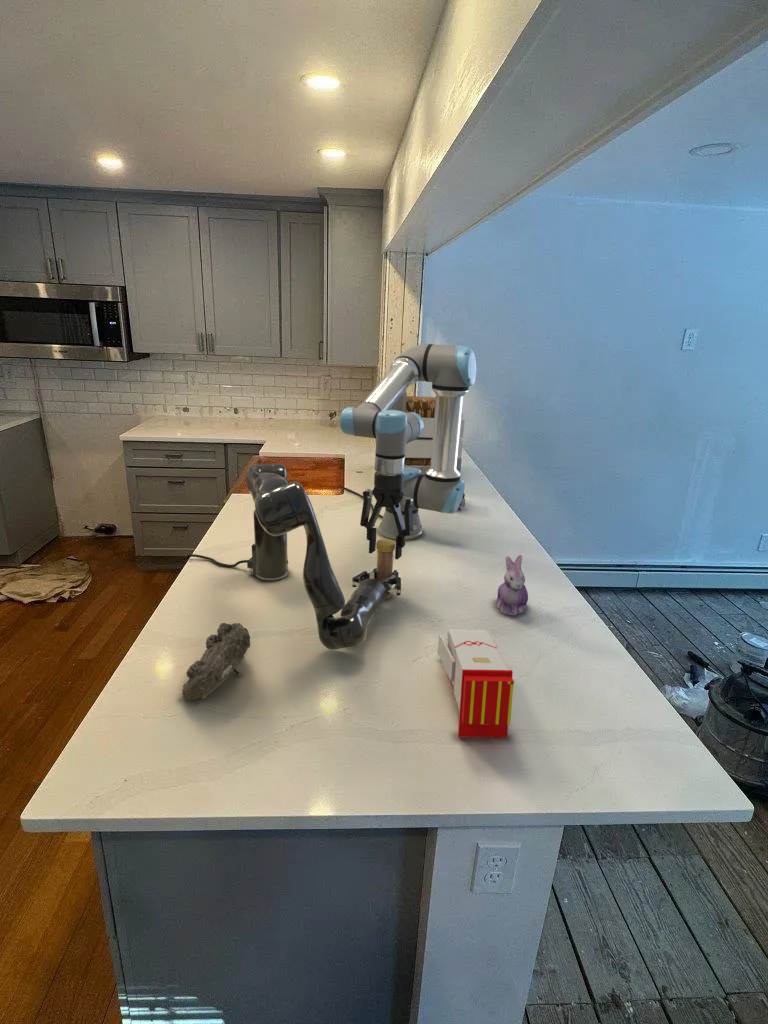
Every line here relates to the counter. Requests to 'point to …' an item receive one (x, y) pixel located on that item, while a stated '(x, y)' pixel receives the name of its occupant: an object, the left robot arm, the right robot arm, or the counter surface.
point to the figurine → (512, 589)
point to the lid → (385, 545)
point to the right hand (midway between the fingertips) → (385, 554)
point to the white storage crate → (422, 446)
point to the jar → (384, 566)
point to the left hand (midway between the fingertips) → (387, 571)
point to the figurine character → (462, 502)
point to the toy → (478, 682)
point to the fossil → (217, 660)
